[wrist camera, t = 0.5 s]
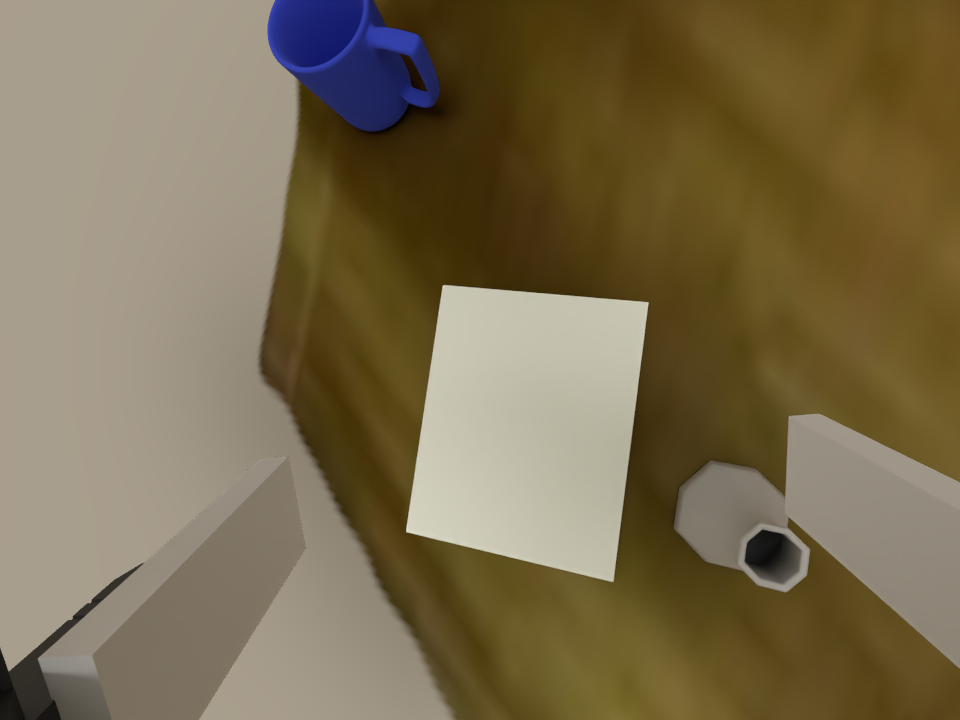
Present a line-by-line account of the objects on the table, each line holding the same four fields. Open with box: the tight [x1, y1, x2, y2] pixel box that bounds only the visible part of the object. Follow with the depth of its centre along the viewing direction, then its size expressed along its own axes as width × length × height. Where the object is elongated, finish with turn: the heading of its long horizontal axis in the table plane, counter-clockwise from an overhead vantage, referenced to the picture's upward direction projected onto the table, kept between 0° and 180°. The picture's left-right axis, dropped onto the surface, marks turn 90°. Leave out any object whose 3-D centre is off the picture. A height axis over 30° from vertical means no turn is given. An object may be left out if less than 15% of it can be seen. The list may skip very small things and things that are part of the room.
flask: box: [673, 460, 810, 592], centre depth 29 cm, size 7×7×10 cm
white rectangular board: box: [406, 285, 648, 582], centre depth 38 cm, size 20×16×1 cm
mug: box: [268, 0, 439, 131], centre depth 39 cm, size 8×12×10 cm
